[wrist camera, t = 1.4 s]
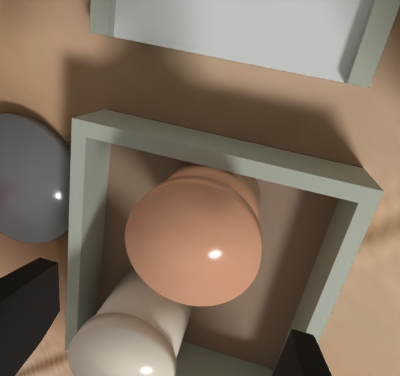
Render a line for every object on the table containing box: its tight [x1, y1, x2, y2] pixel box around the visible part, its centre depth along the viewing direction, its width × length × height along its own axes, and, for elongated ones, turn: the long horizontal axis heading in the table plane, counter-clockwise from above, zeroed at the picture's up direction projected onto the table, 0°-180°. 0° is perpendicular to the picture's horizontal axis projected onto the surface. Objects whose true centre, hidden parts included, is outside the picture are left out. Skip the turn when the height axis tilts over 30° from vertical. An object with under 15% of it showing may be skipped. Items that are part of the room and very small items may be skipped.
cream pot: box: [68, 268, 193, 376], centre depth 20 cm, size 6×6×6 cm
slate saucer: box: [0, 113, 71, 243], centre depth 22 cm, size 9×9×1 cm
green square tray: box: [65, 109, 384, 376], centre depth 20 cm, size 16×15×4 cm
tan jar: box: [125, 161, 262, 306], centre depth 17 cm, size 6×6×6 cm
